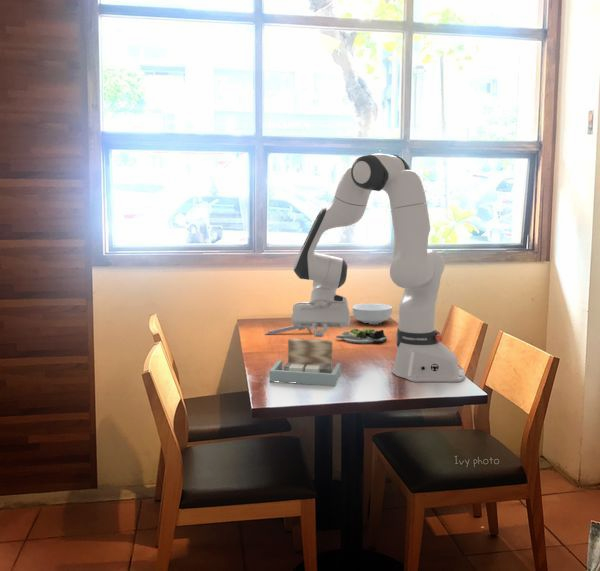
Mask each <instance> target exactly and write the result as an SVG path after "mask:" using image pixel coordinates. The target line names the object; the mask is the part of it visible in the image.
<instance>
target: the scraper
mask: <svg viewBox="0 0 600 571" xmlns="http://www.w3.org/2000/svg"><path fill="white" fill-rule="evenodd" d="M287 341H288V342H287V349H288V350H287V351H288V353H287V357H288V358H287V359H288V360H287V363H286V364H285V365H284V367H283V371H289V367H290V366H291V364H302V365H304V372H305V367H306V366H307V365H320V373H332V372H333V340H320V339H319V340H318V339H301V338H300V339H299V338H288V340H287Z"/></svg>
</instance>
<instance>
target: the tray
mask: <svg viewBox="0 0 600 571" xmlns="http://www.w3.org/2000/svg"><path fill="white" fill-rule="evenodd" d="M340 376H341V363H336V365H335V366H334V368H333V369H332V372H331V373H317V372H300V371H284V369H283V360H279V359H278V360H277V362H276V363H275V364H274V365H273V366H272V368H271V369H269V382H270V381H279V382H296V383H306V384H305V385H309V384H315V385H314V386H325V385H327V386H326V387H335V386H336V385H337V383H338V381H339V379H338V378H340ZM337 380H338V381H337ZM336 382H337V383H336Z"/></svg>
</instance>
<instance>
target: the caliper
mask: <svg viewBox="0 0 600 571" xmlns="http://www.w3.org/2000/svg"><path fill="white" fill-rule="evenodd" d="M305 329H307V331H308V332H309V333H310V332H311V333H312V329H311V327H296V326H294V325H290V326H286V327H281V328H277V329H272V330H268V331H267V332H265V333H264V335H265V334H266V335H268V334H270V335H276V334H281V333H284V332H289V331H290V332H291V331H294V330H298V331H301V330H305Z"/></svg>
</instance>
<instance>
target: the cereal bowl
mask: <svg viewBox="0 0 600 571" xmlns="http://www.w3.org/2000/svg"><path fill="white" fill-rule="evenodd" d="M351 309H352V314H353V317H354V318H355V319H356V320H358V321H360V322H362V323H363V322H364V323H363V324H365V323H369V324H368V325H379V323H380V324H382V322H384V321H387V320H388V319H389V318H390V317H391V315H392V313H393V307H392V305H389V304H384V303H371V302H370V303H369V302H367V303H366V302H365V303H359V304H355V305H353V306H352V308H351Z"/></svg>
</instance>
